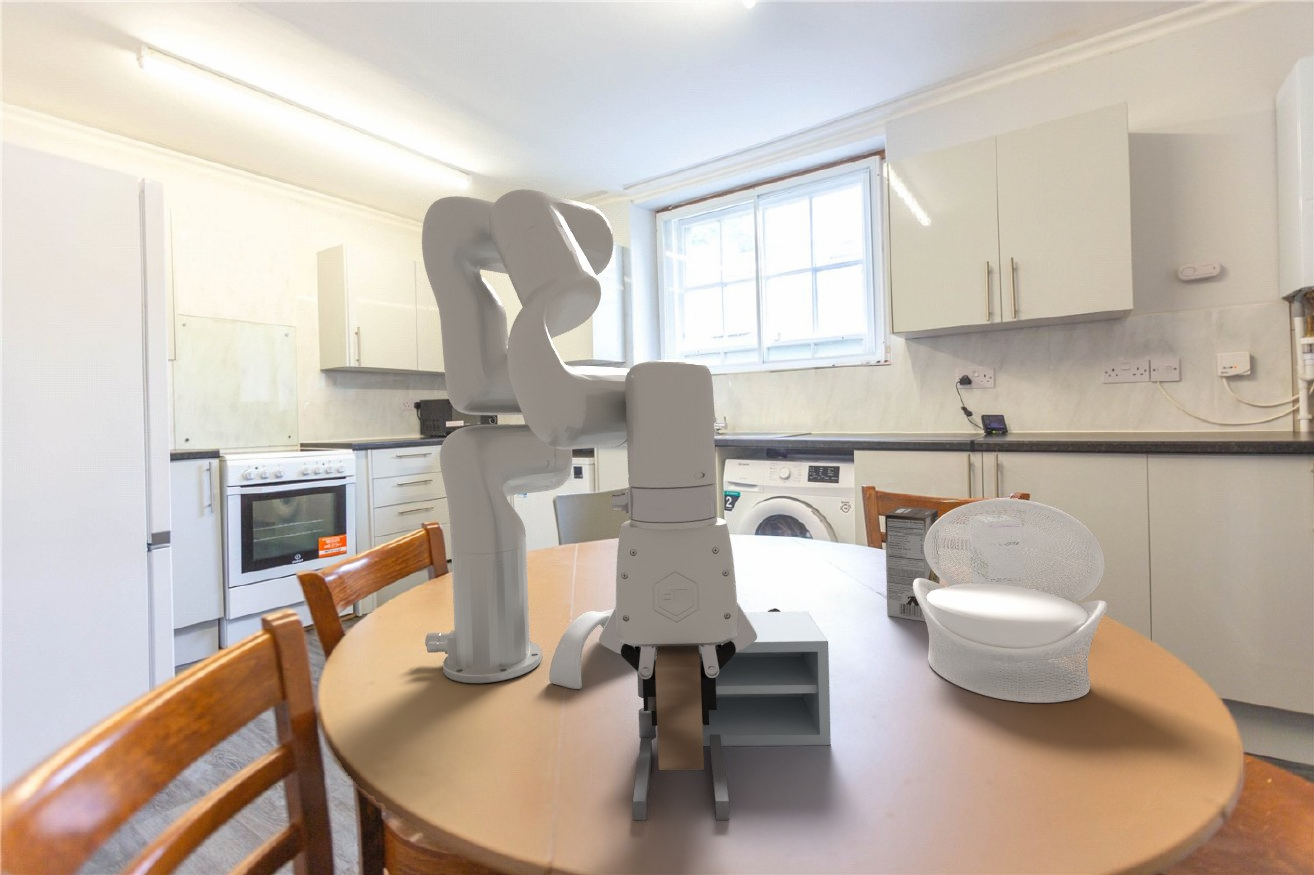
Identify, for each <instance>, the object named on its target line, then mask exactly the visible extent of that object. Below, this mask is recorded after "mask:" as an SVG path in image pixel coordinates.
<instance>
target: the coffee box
mask: <svg viewBox="0 0 1314 875" xmlns="http://www.w3.org/2000/svg"><path fill="white" fill-rule="evenodd" d="M938 519H939V509H935V508H932V509H931V508H923V507H912V506H911V507H910V506H897V507H896V508H894V509H892V510H890V511H888V512H887V513H886V514H884V524H885V525H884V526H885V527H884V530H885V565H886V566H885V569H886V574H885V575H886V578H885V579H886V612H887V613H886V616H888V617H893V618H899V619H900V618H901V619H905V620H906V619H907V620H912V621H918V622H924V623H926V620H925V617H924V614H923V611H922V609H921V607H920V605H919V603H918V601H917V599H916V596H915V594H914V590H913V582H914V580H915V579H917V578H923V579H927V580H930V581H933V582H936V583H938V584H941V579H940V578H939V577H938V576H937V575H936V574H935V573H934V571H933V570H932V569H931V567H930V566H929V564H928V562H927V560H926V557H925V553H924V541H925V537H926V535H927V532H928V531H929V529H930V528H931V526H932V525H933V524H934V523H935V522H936V521H937V520H938ZM936 530H937V529H936ZM937 531H938V530H937ZM937 531H936V532H937ZM937 533H938V532H937ZM935 534H936V533H935ZM935 537H936V536H935ZM938 537H939V536H938ZM933 539H934V538H933ZM935 539H936V538H935ZM937 539H938V538H937ZM934 541H935V540H934ZM936 541H937V540H936ZM938 541H940V540H938ZM932 543H933V542H932ZM934 543H935V542H934ZM936 545H937V544H936ZM934 546H935V545H934ZM930 547H931V546H930ZM936 547H937V546H936ZM938 547H940V545H938ZM934 548H935V547H934ZM938 549H939V548H938ZM936 550H937V548H936ZM939 550H940V549H939ZM932 551H933V550H932ZM934 551H935V550H934ZM937 552H938V551H937ZM932 554H933V553H932ZM936 554H938V553H936ZM938 555H939V554H938ZM934 556H935V555H934ZM936 557H937V556H936ZM932 559H933V558H932ZM938 559H939V558H938ZM937 562H938V561H937ZM937 562H936V563H937ZM938 563H939V562H938ZM924 588H925V587H924ZM928 589H929V588H928ZM928 589H926V590H928ZM934 590H935V588H934ZM928 593H929V592H928ZM923 595H924V594H923ZM924 599H925V598H924ZM926 601H927V599H926Z"/></svg>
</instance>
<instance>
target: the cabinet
mask: <svg viewBox="0 0 1314 875" xmlns="http://www.w3.org/2000/svg"><path fill="white" fill-rule="evenodd" d="M744 613H745V615H746V616H747V618H748V619H749V621H750V622H751V624H752V625H753V627H754V629H755V631H756V634H757V639H756V641H755V642H753V643H751V644H750V645H748V646H747V647H745V648H743V649H742V650H739V651H737V652H736V653H735V655H734V656H733V657H732V658H731V659H730V660H729V661H728V662H727V663H726V664H725V665H724V666H723V667H722V668H721V669H720V670H719V674H718V676H716V702H717V710H709V725H703V723H702V731H703V747H709V751H710V752H709V754H710V762H711V774H712V776H711V777H712V784H713V785H712V786H713V796H714V806H715V818H716V821H729V820H730V801H729V793H728V784H727V778H726V777H727V776H726V769H725V762H724V761H725V760H724V754H723V747H753V746H754V747H762V746H764V747H765V746H769V747H771V746H772V747H773V746H779V747H780V746H785V747H787V746H831V745H832V744H831V740H832V739H831V735H832V734H831V704H830V703H831V702H830V697H831V696H830V667H829V666H830V662H829V659H830V658H829V657H830V656H829V640H828V638H827V637H826V636H825V634H824V632H823V631H822V629H821V628H820V626H819V625H818V624H817V622H816V621H815V620H814V618H813V616H812V615H811V614H810V612H809V611H803V610H802V611H801V610H800V611H781V612H768V611H755V612H753V611H749V612H748V611H747V612H744ZM715 646H716V645H715ZM699 657H700V664H701V661H702V660H703V658H702V653H701V647H700V645H699ZM636 673H637V696H638V697H639V698H641V699H643V678H641V677H640V676H639V673H638V671H637V670H636ZM638 734H639V739H640V742H639V743H640V744H639V749H638V750H639V751H638V758H637V766H636V775H635V781H634V783H635V784H634V790H633V798H632V814H633V815H632V816H633V817H632V818H633V821H647V815H648V804H649V803H648V802H649V792H650V780H651V770H652V769H651V768H652V758H653V757H652V756H653V740H654V739H656V737H657V726H652V714H651V711H644V707H641V708H640V709H639V710H638Z"/></svg>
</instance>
